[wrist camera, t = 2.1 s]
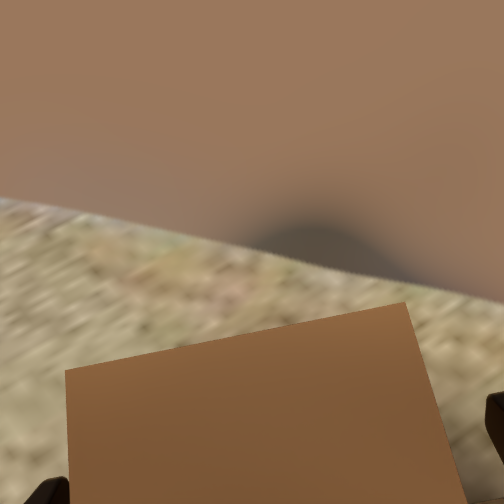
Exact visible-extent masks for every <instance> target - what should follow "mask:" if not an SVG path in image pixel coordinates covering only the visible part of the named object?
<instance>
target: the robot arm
mask: <svg viewBox="0 0 504 504" xmlns="http://www.w3.org/2000/svg"><path fill="white" fill-rule="evenodd" d="M485 426H486V430H487V432H488V434H489V436H490V438H491V440H492V442H493V444H494V446H495V448H496V450H497V452H498V454H499V456H500V458H501V460H502V462H503V464H504V391H502V392H497V393H492V394H489V395H488V396H487V399H486V411H485ZM24 504H70V487H69V481H68V479H67V478H66V477H63V476H60V477H55V478H50V479H46V480H45V481H43V482H42V483H41V484H40V485H39V486H38V487H37V489H36V490H35V491H34V492H33V493H32V495H31V496H30V497H29V498H28V499H27V500H26V502H25V503H24Z"/></svg>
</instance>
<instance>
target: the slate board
mask: <svg viewBox="0 0 504 504" xmlns="http://www.w3.org/2000/svg"><path fill="white" fill-rule="evenodd" d="M474 504H504V498H501V499H495V500H490V501H484V502H479V503H474Z"/></svg>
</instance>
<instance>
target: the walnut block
mask: <svg viewBox="0 0 504 504" xmlns="http://www.w3.org/2000/svg"><path fill="white" fill-rule="evenodd" d="M65 382H66V408H67V435H68V461H69V487H70V504H468V503H467V500H466V497H465V494H464V491H463V487H462V484H461V481H460V478H459V474H458V471H457V468H456V465H455V462H454V458H453V455H452V452H451V449H450V445H449V442H448V439H447V436H446V433H445V429H444V426H443V423H442V420H441V416H440V413H439V410H438V407H437V403H436V400H435V397H434V394H433V391H432V387H431V384H430V381H429V378H428V374H427V371H426V368H425V365H424V362H423V358H422V355H421V352H420V349H419V345H418V342H417V339H416V336H415V333H414V329H413V326H412V323H411V320H410V316H409V313H408V310H407V307H406V303H405V302H402V303H397V304H392V305H387V306H382V307H377V308H372V309H368V310H363V311H358V312H353V313H348V314H343V315H338V316H333V317H328V318H323V319H318V320H313V321H308V322H303V323H298V324H293V325H288V326H283V327H278V328H273V329H268V330H263V331H258V332H253V333H248V334H243V335H238V336H233V337H228V338H223V339H219V340H214V341H209V342H204V343H199V344H194V345H189V346H184V347H179V348H174V349H169V350H164V351H159V352H154V353H149V354H144V355H139V356H134V357H129V358H124V359H119V360H114V361H109V362H104V363H99V364H94V365H89V366H84V367H79V368H74V369H70V370H65Z"/></svg>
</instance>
